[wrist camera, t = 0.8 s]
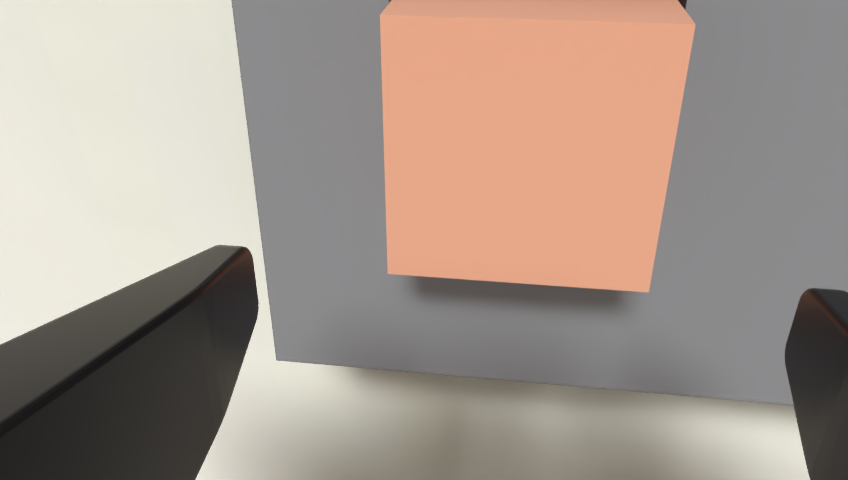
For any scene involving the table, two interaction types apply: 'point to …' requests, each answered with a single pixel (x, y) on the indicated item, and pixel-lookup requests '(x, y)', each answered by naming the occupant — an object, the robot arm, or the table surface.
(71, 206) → the table surface
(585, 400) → the table surface
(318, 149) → the key console
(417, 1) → the terracotta key
